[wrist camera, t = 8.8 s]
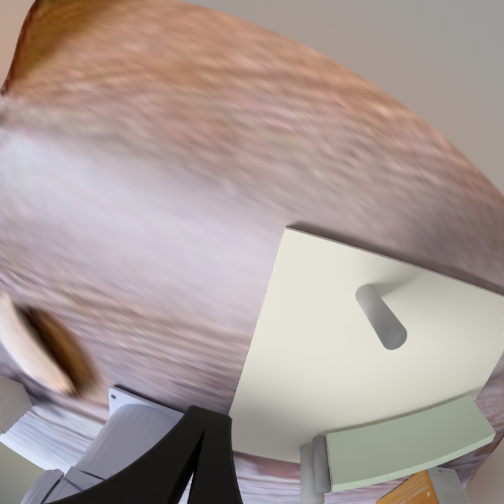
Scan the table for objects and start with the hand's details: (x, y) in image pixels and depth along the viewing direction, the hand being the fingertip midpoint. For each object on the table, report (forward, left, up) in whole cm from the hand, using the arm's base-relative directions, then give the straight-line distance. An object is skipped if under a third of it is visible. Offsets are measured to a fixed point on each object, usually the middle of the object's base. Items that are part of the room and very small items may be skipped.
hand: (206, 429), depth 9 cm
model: (-21, +26, -11) cm, 36 cm away
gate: (-6, -13, -9) cm, 17 cm away
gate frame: (-3, -11, -10) cm, 15 cm away
